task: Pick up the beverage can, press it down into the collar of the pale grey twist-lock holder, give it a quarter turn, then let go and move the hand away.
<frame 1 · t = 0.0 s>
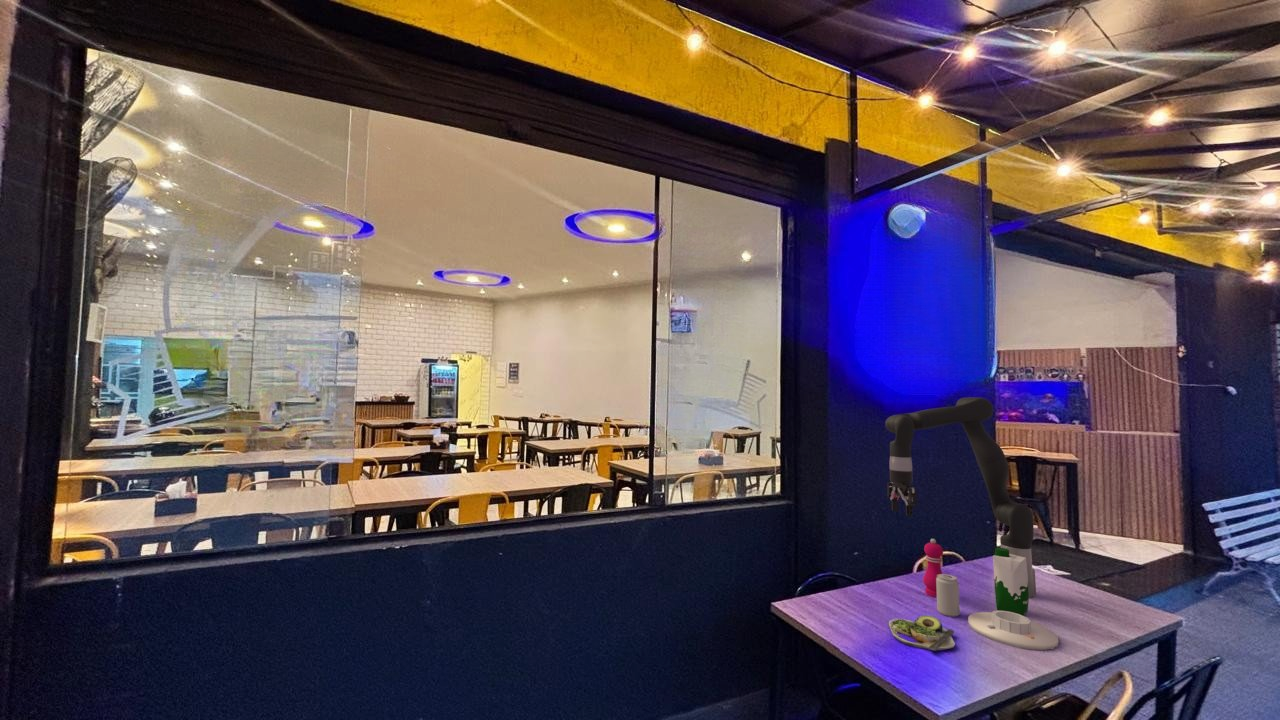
hand: (902, 513, 181), 29 cm above the table, tool pointing down, fingers open, 8 cm apart
pepper mill: (935, 595, 180), on the table
beverage can: (948, 614, 163), on the table
salad plate: (921, 638, 147), on the table
twist-lock holder: (1011, 632, 151), on the table
milk carton: (1012, 611, 167), on the table
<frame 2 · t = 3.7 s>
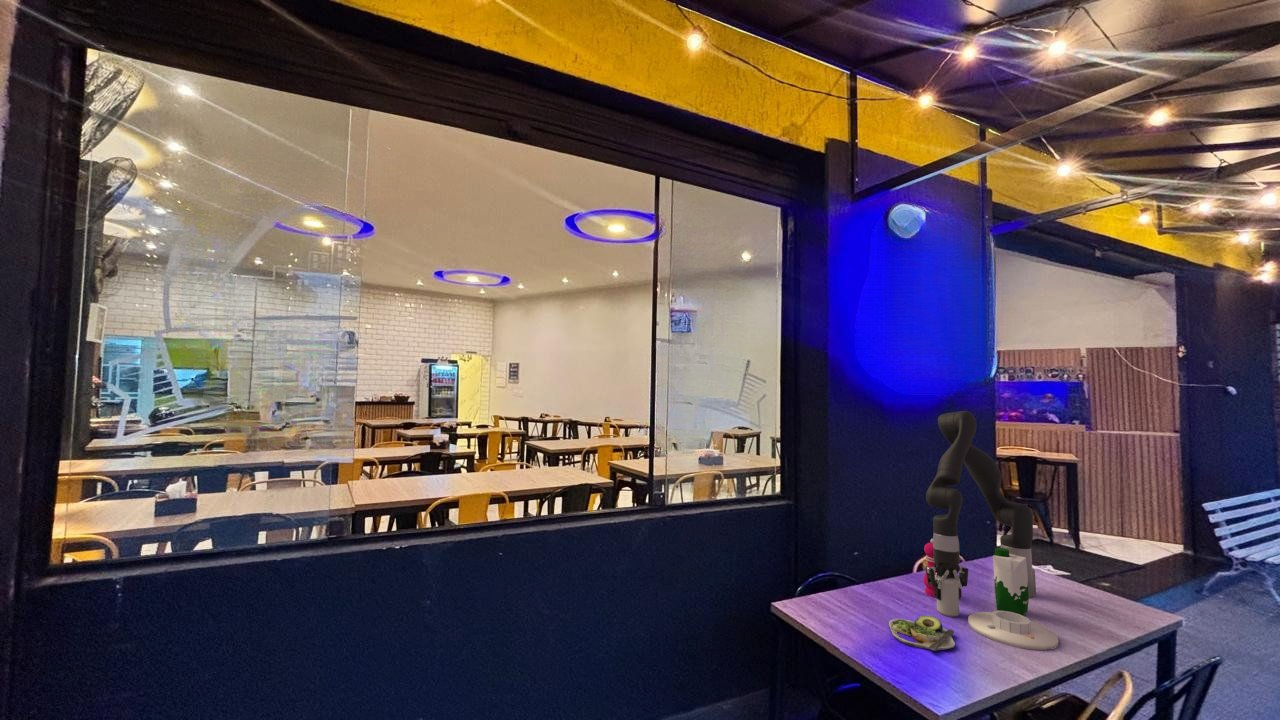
hand: (947, 598, 164), 5 cm above the table, tool pointing down, fingers closed on beverage can, 6 cm apart
beverage can: (948, 614, 164), on the table, touching gripper
everything else where it was.
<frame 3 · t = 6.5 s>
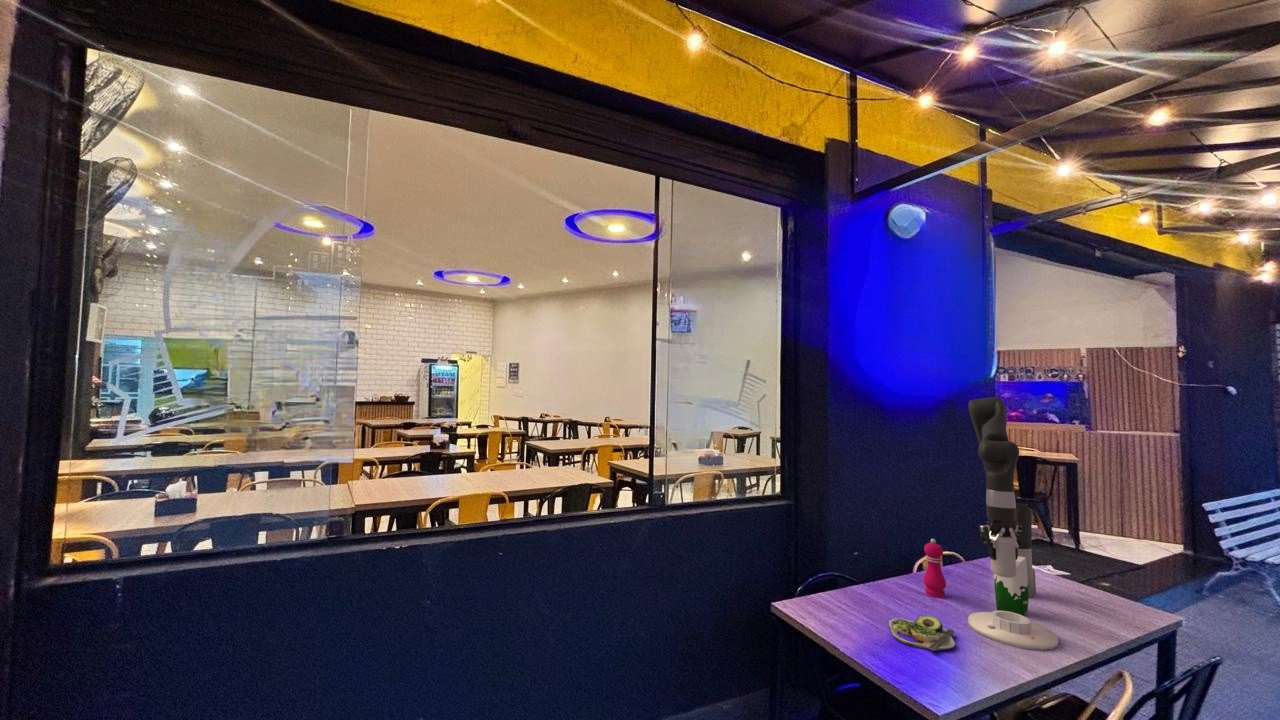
hand: (1003, 559, 153), 21 cm above the table, tool pointing down, fingers closed on beverage can, 6 cm apart
beverage can: (1003, 575, 153), point 17 cm above the table, touching gripper
everything else where it was.
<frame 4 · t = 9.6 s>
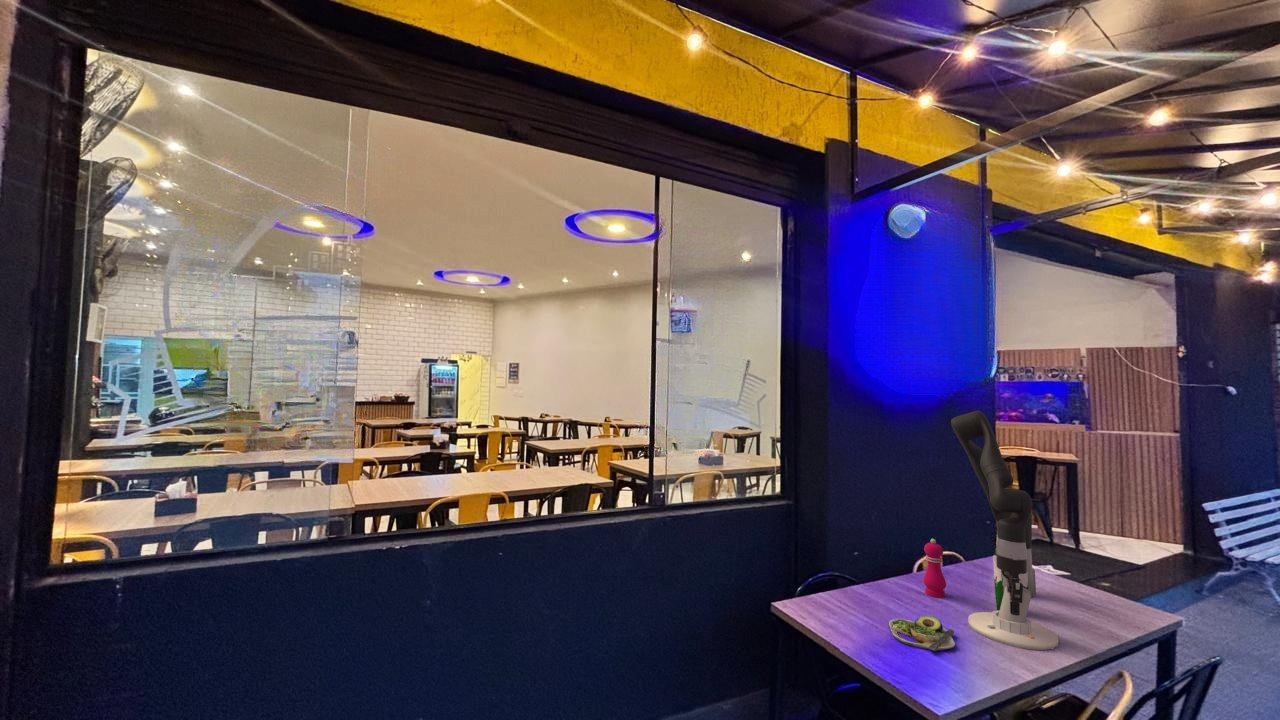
hand: (1011, 610, 151), 7 cm above the table, tool pointing down, fingers closed on beverage can, 6 cm apart
beverage can: (1009, 625, 150), point 2 cm above the table, touching gripper, twist-lock holder
everything else where it was.
when the fingers open (6 cm above the table, at t = 10.9 s): beverage can stays where it is, resting on twist-lock holder.
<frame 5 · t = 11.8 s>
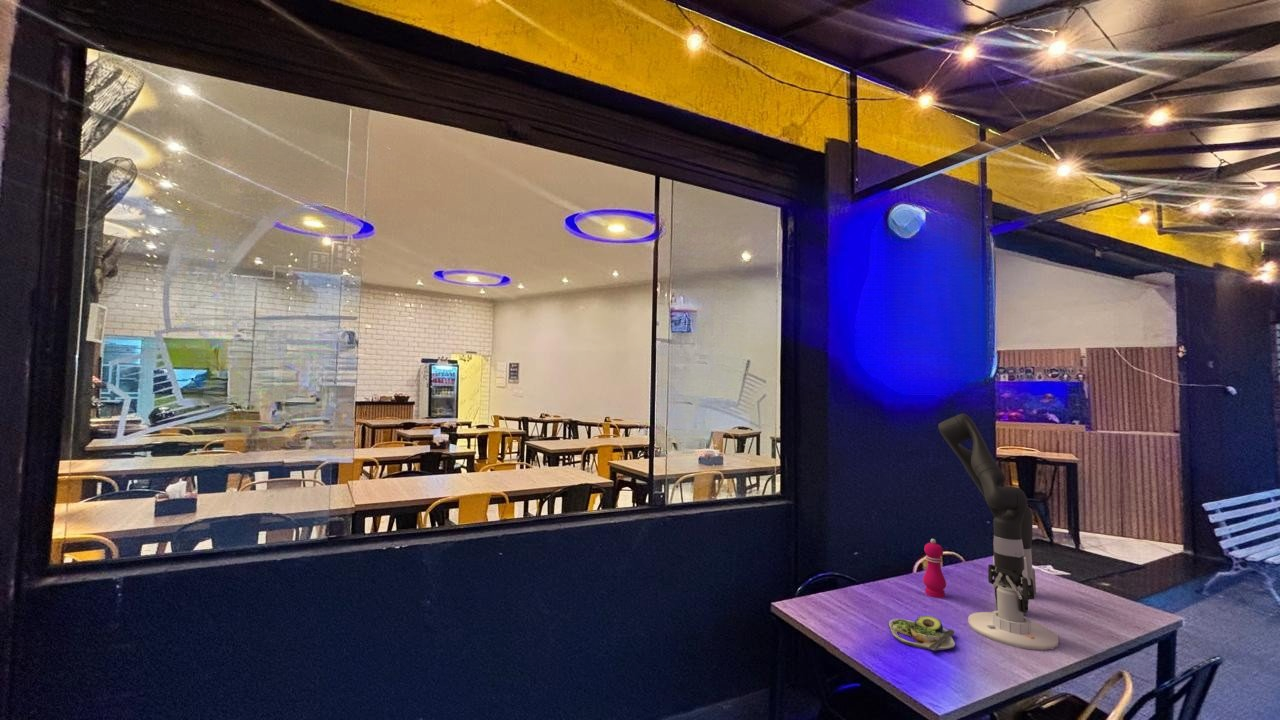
hand: (1011, 605, 151), 8 cm above the table, tool pointing down, fingers open, 8 cm apart
beverage can: (1011, 628, 150), point 1 cm above the table, touching twist-lock holder
everything else where it was.
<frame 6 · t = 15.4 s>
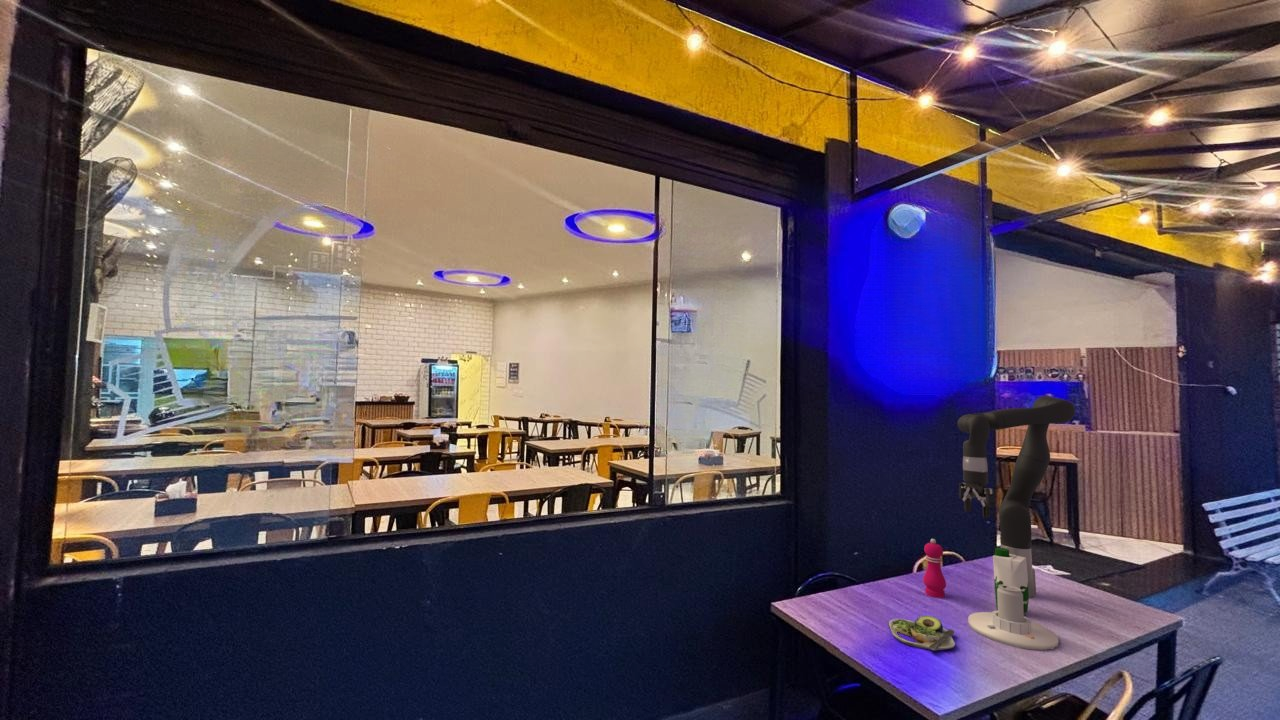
hand: (977, 514, 178), 30 cm above the table, tool pointing down, fingers open, 8 cm apart
nothing on the table moved.
at the end: beverage can 0.6 cm off-centre on the twist-lock holder, point 1.3 cm above the twist-lock holder's base; beverage can tilted 0°; the gripper is holding nothing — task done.
